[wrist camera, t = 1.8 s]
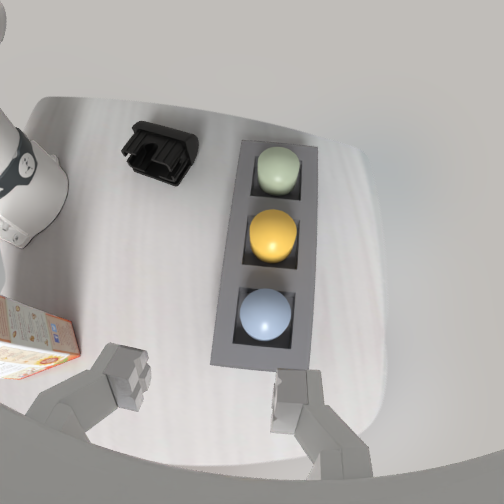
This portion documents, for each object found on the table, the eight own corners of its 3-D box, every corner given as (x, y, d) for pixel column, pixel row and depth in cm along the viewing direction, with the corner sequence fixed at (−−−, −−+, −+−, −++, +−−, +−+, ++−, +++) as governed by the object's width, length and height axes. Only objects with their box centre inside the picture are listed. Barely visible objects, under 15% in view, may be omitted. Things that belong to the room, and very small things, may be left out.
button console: (218, 364, 38) (210, 364, 31) (243, 173, 48) (241, 140, 40) (298, 372, 38) (308, 374, 30) (309, 179, 47) (317, 147, 40)
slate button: (239, 338, 32) (237, 335, 29) (244, 294, 34) (242, 286, 31) (285, 343, 32) (288, 340, 29) (289, 298, 34) (292, 290, 30)
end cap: (202, 154, 50) (195, 126, 43) (180, 188, 47) (170, 163, 41) (152, 139, 51) (142, 112, 45) (130, 170, 49) (116, 145, 42)
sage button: (255, 194, 38) (255, 178, 35) (259, 162, 40) (259, 145, 36) (295, 197, 38) (299, 182, 35) (297, 165, 39) (300, 148, 36)
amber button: (247, 261, 35) (247, 249, 32) (252, 221, 37) (252, 207, 34) (291, 265, 35) (295, 254, 32) (294, 225, 37) (297, 211, 33)
